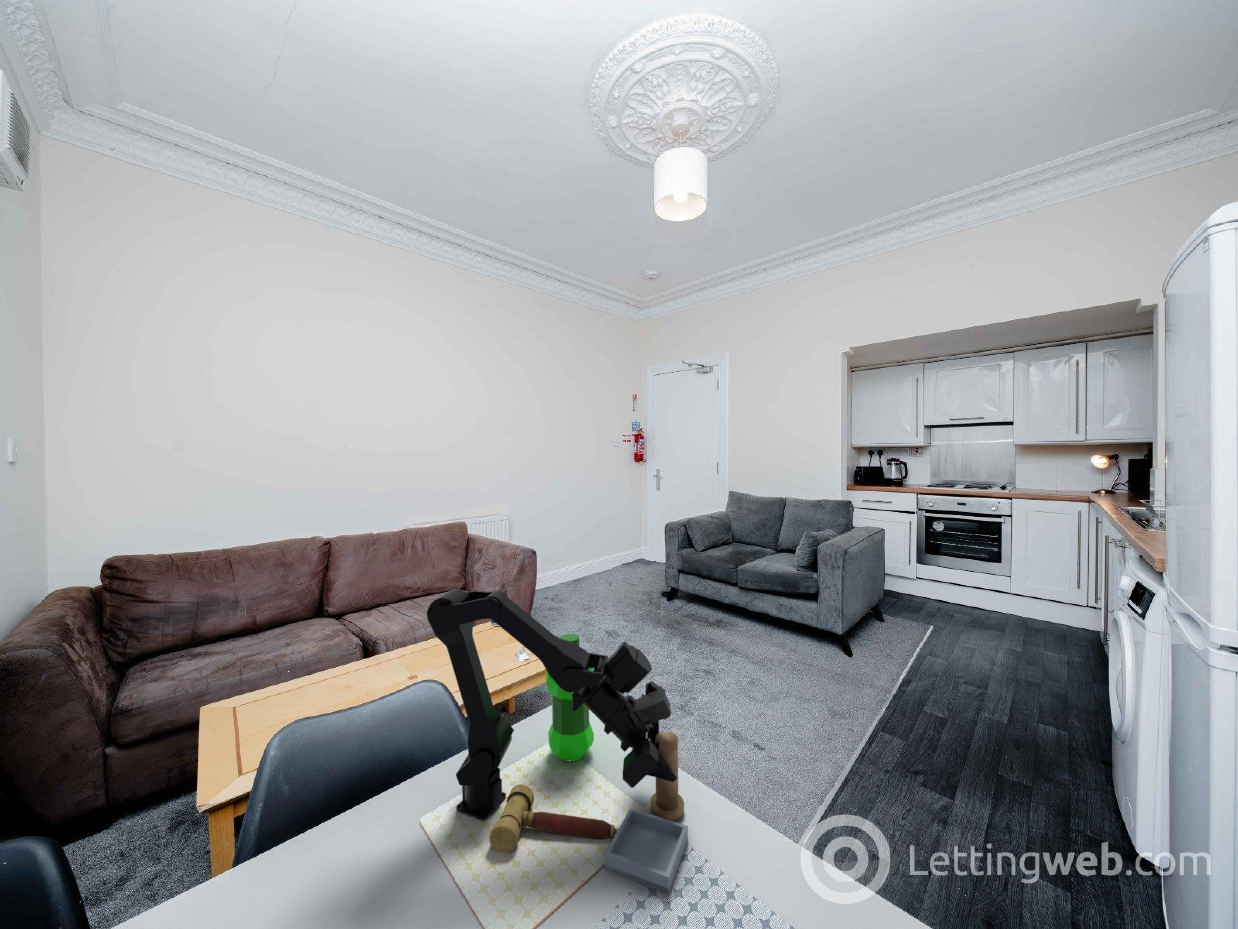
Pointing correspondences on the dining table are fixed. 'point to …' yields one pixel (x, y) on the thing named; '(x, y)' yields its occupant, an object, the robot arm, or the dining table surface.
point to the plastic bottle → (568, 720)
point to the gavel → (540, 822)
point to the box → (647, 850)
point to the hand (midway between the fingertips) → (674, 771)
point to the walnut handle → (666, 796)
